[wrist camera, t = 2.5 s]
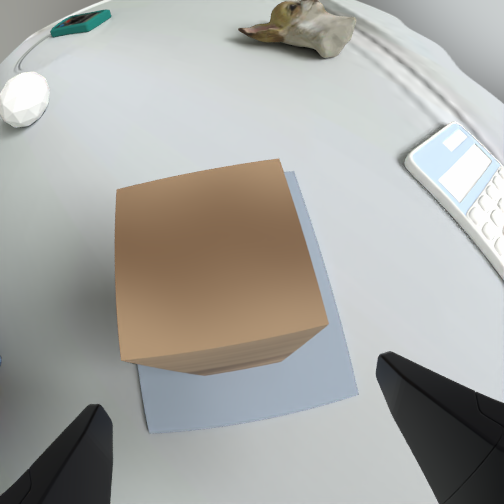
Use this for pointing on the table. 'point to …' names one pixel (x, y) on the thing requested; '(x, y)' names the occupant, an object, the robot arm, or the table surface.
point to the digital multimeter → (80, 23)
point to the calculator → (465, 186)
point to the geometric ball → (24, 99)
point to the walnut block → (213, 271)
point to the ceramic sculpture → (305, 27)
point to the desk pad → (258, 371)
